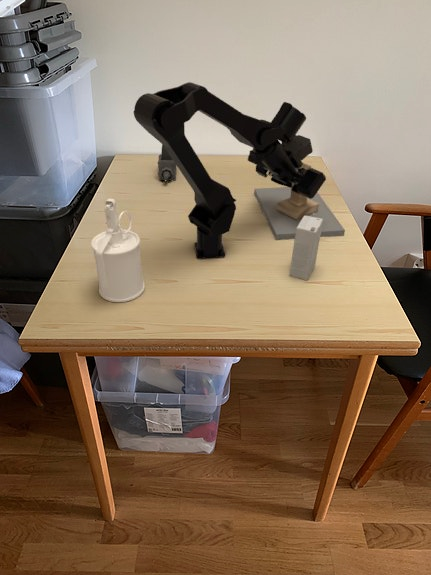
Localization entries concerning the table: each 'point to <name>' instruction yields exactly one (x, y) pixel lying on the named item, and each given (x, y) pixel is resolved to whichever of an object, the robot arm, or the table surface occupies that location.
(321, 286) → the table surface
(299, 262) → the skincare box
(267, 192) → the board
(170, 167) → the caster wheel
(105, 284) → the smoke grenade
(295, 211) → the wooden block tower
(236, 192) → the table surface
